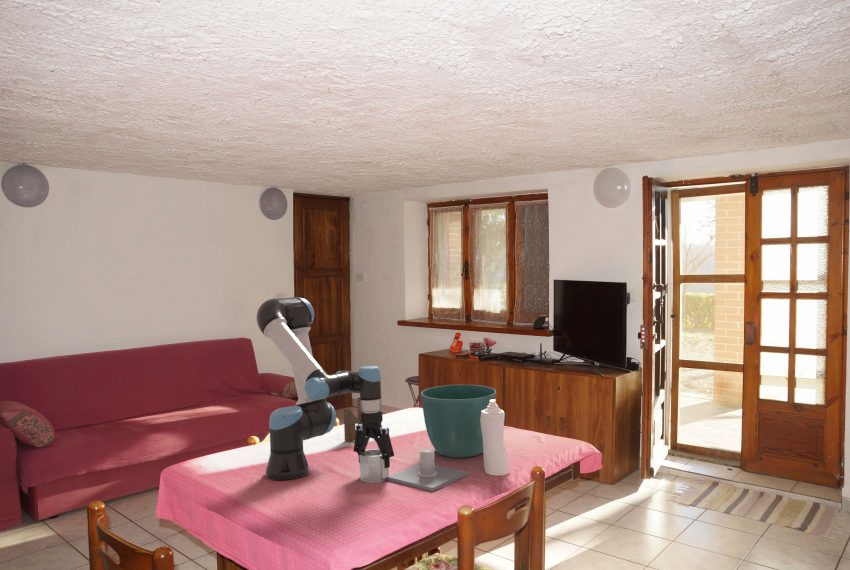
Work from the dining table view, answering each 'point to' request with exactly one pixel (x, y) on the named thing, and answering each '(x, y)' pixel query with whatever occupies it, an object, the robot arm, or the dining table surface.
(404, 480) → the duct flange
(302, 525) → the dining table surface
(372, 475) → the collar
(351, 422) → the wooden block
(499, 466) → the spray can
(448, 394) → the flower pot
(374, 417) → the robot arm
